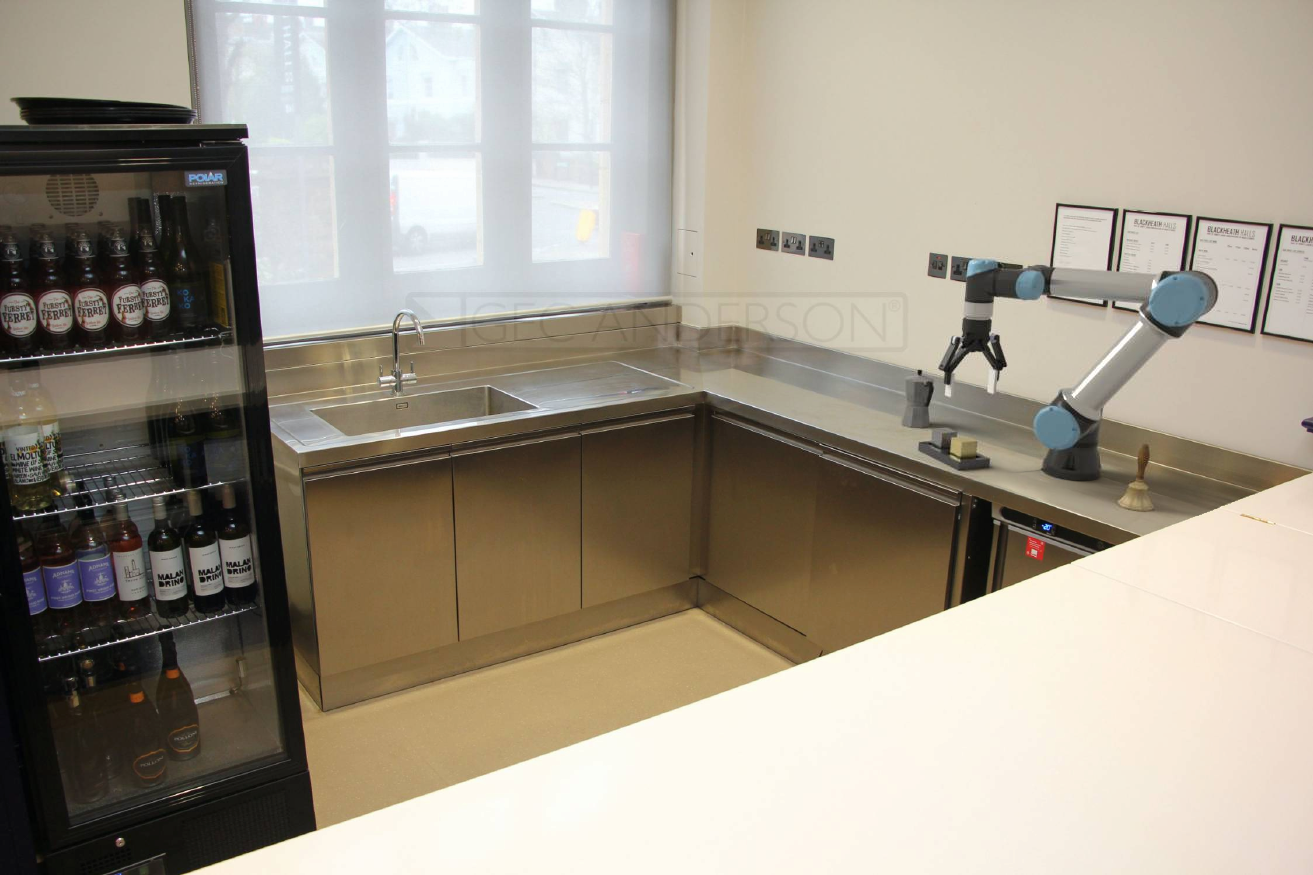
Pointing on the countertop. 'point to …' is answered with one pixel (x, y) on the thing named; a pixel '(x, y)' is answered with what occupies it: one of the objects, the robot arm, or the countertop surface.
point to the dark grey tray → (953, 458)
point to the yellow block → (963, 447)
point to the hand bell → (1138, 486)
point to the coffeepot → (917, 400)
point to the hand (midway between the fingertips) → (970, 394)
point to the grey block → (942, 438)
